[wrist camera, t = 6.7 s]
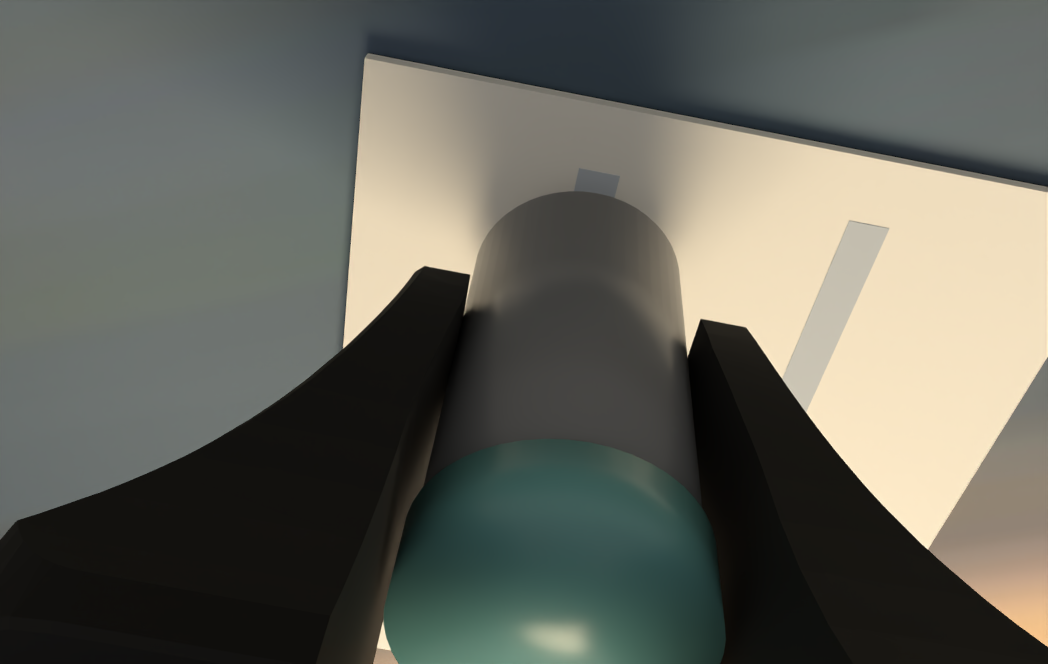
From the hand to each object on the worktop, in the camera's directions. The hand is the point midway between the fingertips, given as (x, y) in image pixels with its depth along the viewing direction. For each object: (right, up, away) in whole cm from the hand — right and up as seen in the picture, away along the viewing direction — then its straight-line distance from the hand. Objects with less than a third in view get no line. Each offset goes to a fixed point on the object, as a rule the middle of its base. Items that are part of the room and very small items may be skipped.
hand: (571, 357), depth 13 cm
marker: (0, +1, +1) cm, 2 cm away
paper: (+1, -2, +4) cm, 5 cm away
